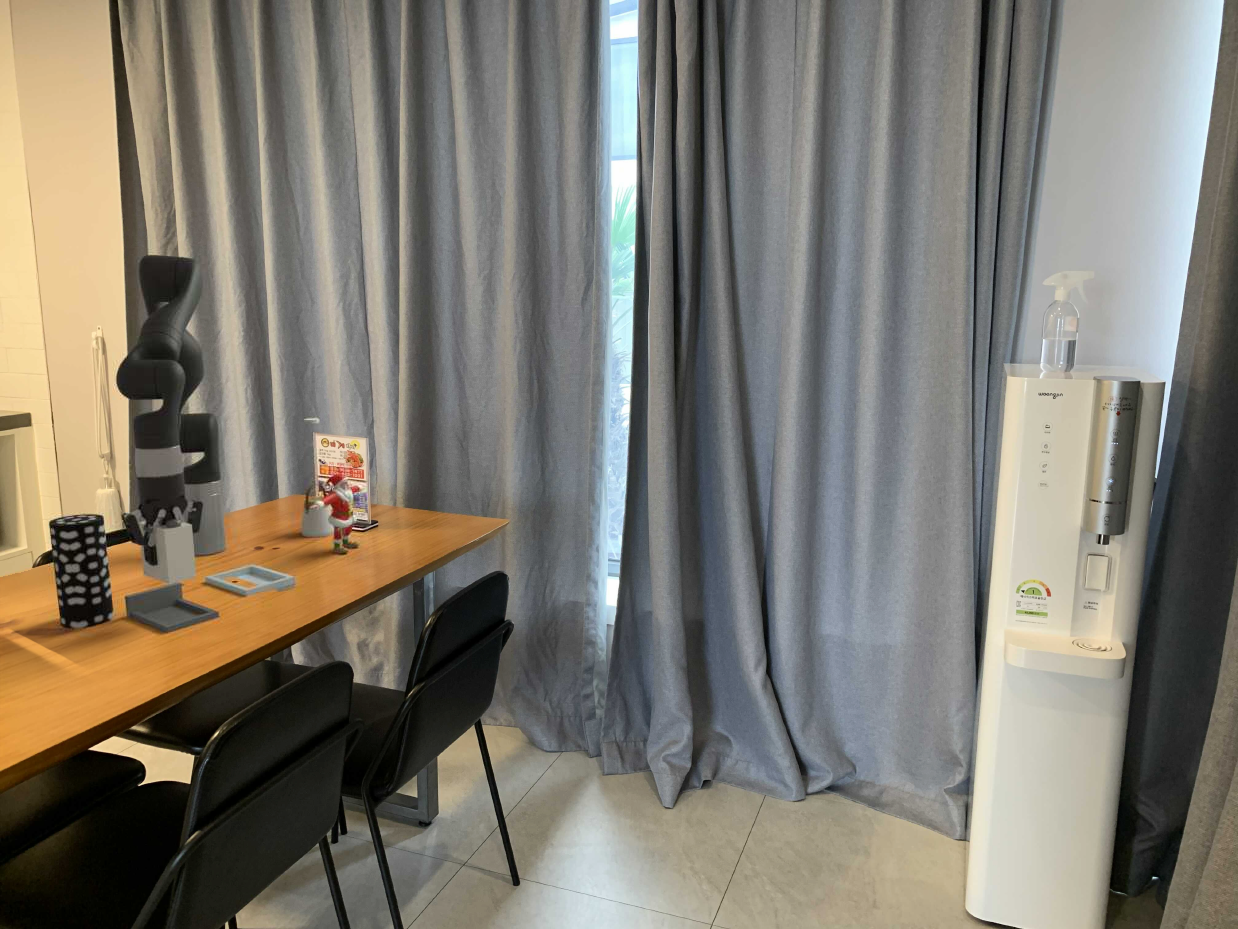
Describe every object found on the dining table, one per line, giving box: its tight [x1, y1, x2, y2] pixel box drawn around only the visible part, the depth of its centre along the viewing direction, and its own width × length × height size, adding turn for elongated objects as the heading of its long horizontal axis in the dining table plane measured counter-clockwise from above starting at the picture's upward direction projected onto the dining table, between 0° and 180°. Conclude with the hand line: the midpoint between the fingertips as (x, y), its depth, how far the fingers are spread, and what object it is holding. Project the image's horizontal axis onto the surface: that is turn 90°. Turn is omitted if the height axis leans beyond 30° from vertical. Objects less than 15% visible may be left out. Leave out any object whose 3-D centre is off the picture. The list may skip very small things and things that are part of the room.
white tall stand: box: [300, 417, 334, 538], centre depth 217 cm, size 8×8×30 cm
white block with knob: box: [138, 519, 197, 585], centre depth 154 cm, size 9×5×11 cm, turn 56°
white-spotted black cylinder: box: [48, 513, 115, 629], centre depth 153 cm, size 8×8×20 cm
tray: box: [204, 563, 296, 597], centre depth 177 cm, size 15×11×2 cm
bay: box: [124, 582, 220, 634], centre depth 156 cm, size 14×10×5 cm
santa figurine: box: [310, 473, 366, 555], centre depth 203 cm, size 25×6×19 cm, turn 169°
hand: (168, 560), depth 155 cm, fingers closed on white block with knob, 5 cm apart
